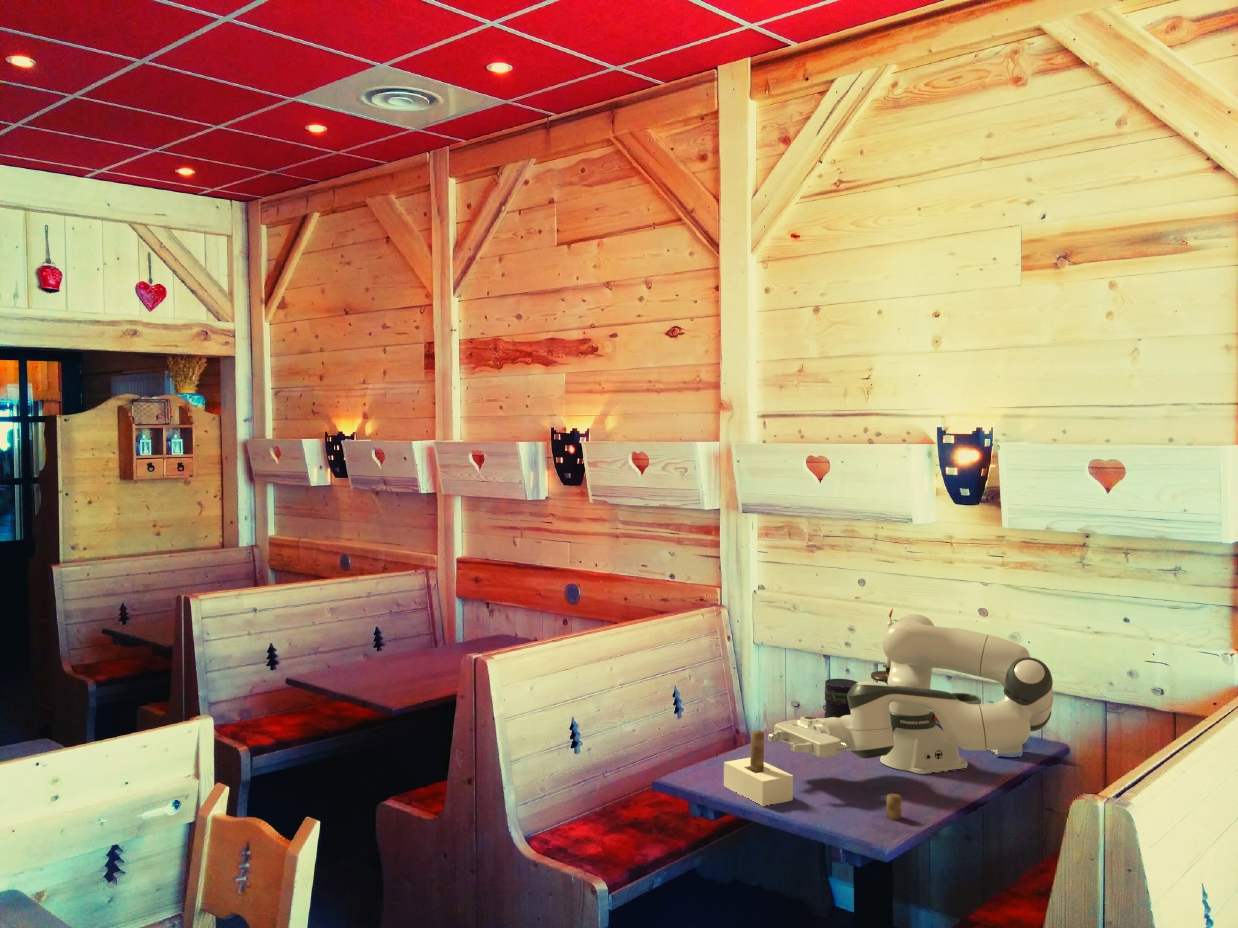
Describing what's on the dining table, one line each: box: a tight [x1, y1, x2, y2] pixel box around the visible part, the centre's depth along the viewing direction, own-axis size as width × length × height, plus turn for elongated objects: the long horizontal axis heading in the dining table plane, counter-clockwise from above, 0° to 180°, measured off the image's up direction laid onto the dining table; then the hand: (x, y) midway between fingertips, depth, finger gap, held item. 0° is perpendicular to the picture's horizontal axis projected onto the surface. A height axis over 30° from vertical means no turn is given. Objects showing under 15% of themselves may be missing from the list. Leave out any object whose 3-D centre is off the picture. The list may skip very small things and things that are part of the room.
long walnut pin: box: [750, 730, 765, 773], centre depth 253 cm, size 3×3×15 cm
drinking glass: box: [951, 692, 982, 705], centre depth 300 cm, size 10×10×12 cm
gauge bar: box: [723, 756, 794, 807], centre depth 253 cm, size 9×16×6 cm, turn 29°
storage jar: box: [824, 678, 858, 718], centre depth 304 cm, size 10×10×15 cm
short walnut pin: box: [886, 793, 902, 821], centre depth 238 cm, size 3×3×5 cm
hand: (780, 743), depth 257 cm, fingers open, 8 cm apart
